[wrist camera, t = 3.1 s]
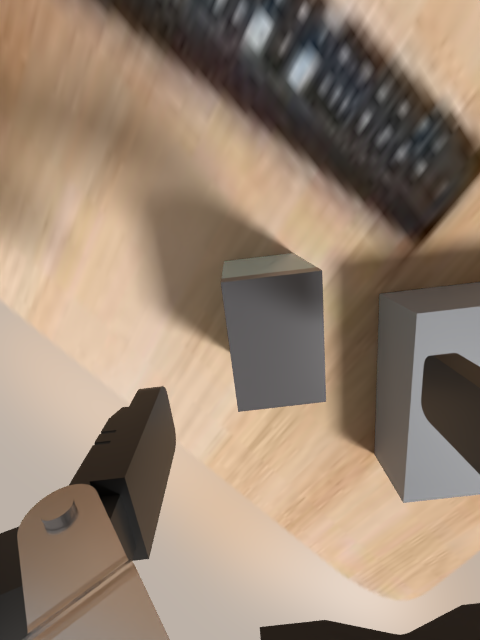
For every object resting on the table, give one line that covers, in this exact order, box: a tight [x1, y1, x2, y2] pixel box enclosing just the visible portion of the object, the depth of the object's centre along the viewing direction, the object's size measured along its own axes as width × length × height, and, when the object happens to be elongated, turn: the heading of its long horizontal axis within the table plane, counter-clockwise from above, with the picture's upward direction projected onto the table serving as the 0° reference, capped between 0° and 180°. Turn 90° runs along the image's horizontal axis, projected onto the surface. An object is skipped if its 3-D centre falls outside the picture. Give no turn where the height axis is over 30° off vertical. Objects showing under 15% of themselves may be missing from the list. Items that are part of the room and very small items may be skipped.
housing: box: [221, 253, 326, 412], centre depth 16 cm, size 6×4×6 cm, turn 7°
